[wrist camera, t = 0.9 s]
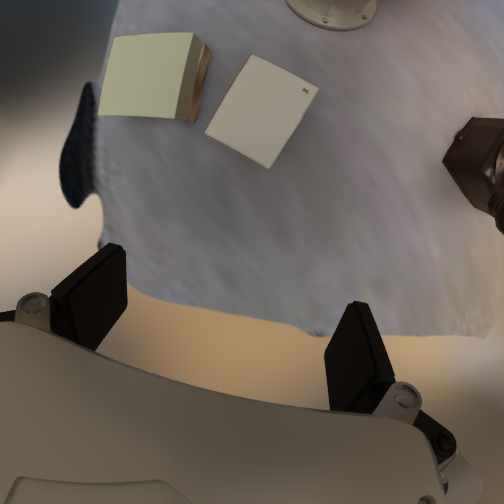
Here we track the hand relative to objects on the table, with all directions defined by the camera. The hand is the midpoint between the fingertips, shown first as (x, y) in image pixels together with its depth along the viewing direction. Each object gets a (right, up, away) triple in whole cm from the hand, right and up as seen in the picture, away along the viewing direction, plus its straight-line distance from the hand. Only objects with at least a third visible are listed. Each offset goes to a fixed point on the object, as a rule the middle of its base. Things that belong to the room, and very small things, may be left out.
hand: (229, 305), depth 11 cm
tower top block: (-11, +23, +16) cm, 30 cm away
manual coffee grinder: (+33, +14, +20) cm, 41 cm away
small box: (+3, +18, +21) cm, 28 cm away
